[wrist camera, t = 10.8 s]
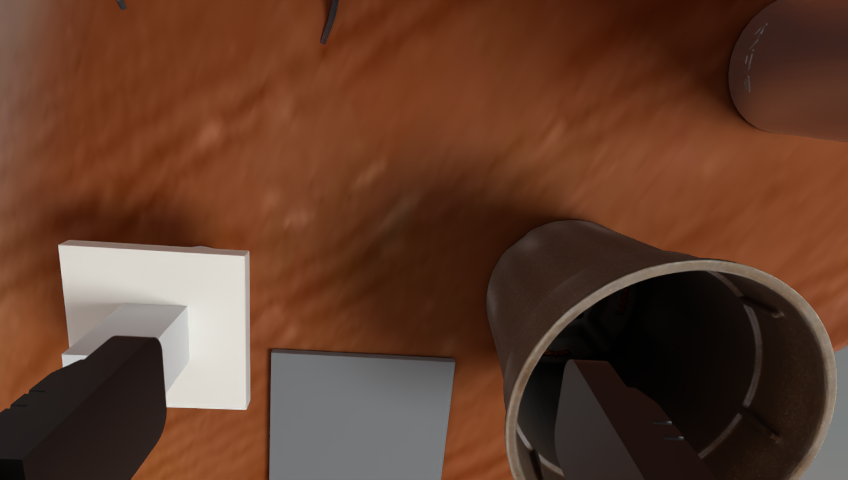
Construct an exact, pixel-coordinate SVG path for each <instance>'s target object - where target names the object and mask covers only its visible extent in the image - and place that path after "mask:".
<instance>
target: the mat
mask: <svg viewBox="0 0 848 480" xmlns="http://www.w3.org/2000/svg"><path fill="white" fill-rule="evenodd" d="M454 370H455V359H454V358H435V357H417V356H398V355H379V354H361V353H342V352H323V351H304V350H286V349H273V350H272V352H271V407H270V469H269V480H441V474H442V466H443V458H444V450H445V442H446V434H447V426H448V418H449V410H450V402H451V394H452V386H453V378H454Z"/></svg>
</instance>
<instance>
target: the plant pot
mask: <svg viewBox="0 0 848 480" xmlns="http://www.w3.org/2000/svg"><path fill="white" fill-rule="evenodd" d="M627 286H628V287H629V296H628V301H627V305H626V309H625V311H624V313H623V314H622V315H619V311H618V309H619V307H621V305H620V302H621V298H622V296H623V288H624V287H627ZM486 308H487V315H488V320H489V324H490V327H491V331H492V335H493V338H494V342H495V346H496V350H497V354H498V358H499V362H500V366H501V370H502V374H503V378H504V388H503V390H504V403H505V409H506V416H505V445H506V451H507V457H508V461H509V465H510V469H511V473H512V476H513V478H514V480H565V477H564V475H563V472H562V470H561V467H560V464H559V462H558V459H557V455H556V449H555V424H556V418H557V412H558V405H559V399H560V393H561V387H562V380H563V374H564V369H565V365H566V363H567V362H568V360H570V359H571V360H591V361H607V362H609V363H610V364H611V366H612V367H613V369H614V370H615V371H616V373H617V374H618V375H619V377H620V378H621V380H622V381H623V382H624V384H625V385H626V387H631V388H636V389H638V390H639V391H641V392H642V393H643V394H645V395H646V396H648V397H649V398H651V399H652V400H653V401H655V402H656V403H658V405H659V406H660V407H661V408H662V410H663V411H664V412H665V414H666V415H667V416H668V417H669V419H670V420H671V421H672V425H675V426H676V428H677V429H678V430H679V431H680V433H681V434H682V435H683V437H684V441H687V442H688V443H689V444H690V445H691V447H692V448H693V449H694V451H695V452H696V453H697V454H698V456H699V457H700V458H701V459H702V461H703V462H704V463H705V465H706V466H707V467H708V468H709V470H710V471H711V472H712V474H713V475H714V476H715V477H716V479H717V480H799V479H800V478H801V476H802V475H803V474H804V473H805V471H806V470H807V468H808V467H809V466H810V464H811V463H812V461H813V460H814V458H815V456H816V455H817V453H818V452H819V449H820V448H821V445H822V443H823V441H824V439H825V437H826V434H827V431H828V428H829V426H830V423H831V419H832V415H833V411H834V406H835V400H836V392H837V372H836V364H835V357H834V352H833V349H832V345H831V342H830V339H829V336H828V334H827V331H826V329H825V327H824V325H823V323H822V322H821V320H820V318H819V317H818V315H817V313H816V312H815V311H814V310H813V309H812V307H811V306H810V305H809V304H808V302H807V301H806V300H805V299H804V298H803V297H802V296H801V295H799V294H798V293H797V292H796V291H795V290H793V289H792V288H791V287H789V286H788V285H787V284H785V283H784V282H782V281H781V280H779V279H777V278H776V277H774V276H772V275H770V274H768V273H765V272H763V271H761V270H758V269H756V268H753V267H750V266H746V265H743V264H740V263H736V262H732V261H727V260H721V259H710V258H697V257H694V256H691V255H688V254H683V253H678V252H672V251H663V250H661V249H658V248H656V247H653V246H650V245H648V244H645V243H642V242H640V241H637V240H635V239H632V238H630V237H627V236H625V235H622V234H620V233H617V232H615V231H612V230H610V229H608V228H606V227H604V226H602V225H599V224H596V223H592V222H587V221H580V220H564V221H556V222H551V223H548V224H545V225H542V226H539V227H537V228H535V229H533V230H531V231H529V232H528V233H527V234H526V235H525V236H524V237H523V238H522V239H520V240H519V241H518V242H516V243H515V244H514V245H512V246H511V247H510V248H508V249H507V250H506V251H505V252H504V253H503V255H502V256H501V258H500V259H499V261H498V262H497V264H496V266H495V268H494V270H493V272H492V275H491V278H490V281H489V285H488V290H487V299H486ZM582 312H583V316H582V317H581V318H580V319H576V317H577V316H578V315H580V314H581V313H582ZM545 350H552V351H554V352H555V351H560V350H569V351H570V355H568V356H562V357H553V356H544V355H542V354H543V353H544V352H545Z"/></svg>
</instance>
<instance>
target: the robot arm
mask: <svg viewBox="0 0 848 480" xmlns="http://www.w3.org/2000/svg"><path fill="white" fill-rule="evenodd" d="M728 77H729V90H730V93H731V97H732V101H733V103H734V105H735V107H736V108H737V110H738V112H739V113H740V114H741V115H742V117H743V118H744V119H745V120H746V121H747V122H748V123H750V124H752V125H753V126H755V127H756V128H758V129H761V130H764V131H767V132H772V133H780V134H788V135H795V136H803V137H810V138H817V139H825V140H833V141H841V142H848V0H777V1H775V2H773V3H772V4H770V5H768V6H766V7H765V8H764V9H763V10H761V11H760V12H759V13H758V14H757V15H756V16H755V17H753V19H752V20H751V21H750V22H749V24H748V25H747V26H746V27H745V29H744V30H743V31H742V33H741V35H740V37H739V39H738V40H737V42H736V44H735V47H734V50H733V53H732V56H731V59H730V66H729V72H728ZM166 412H167V406H166V392H165V379H164V366H163V352H162V346H161V343H160V341H159V339H157V338H156V337H141V336H121V335H115V336H112V337H111V338H109V339H108V340H107V341H106V342H104V343H103V344H102V345H101V346H100V347H98V348H97V349H96V350H95V351H94V352H92V353H91V354H90V355H89V356H87V357H86V358H85V359H80V360H78V361H76V362H74V363H72V364H69V365H67V366H65V367H63V368H61V369H59V370H57V371H54V372H52V373H50V374H49V375H48V376H47V377H45V378H44V379H43V380H42V381H40V382H39V383H38V384H36V385H35V386H34V387H33V388H31V389H30V390H29V393H28V394H24V395H22V396H21V397H20V398H19V399H17V400H16V401H15V402H14V403H12V404H11V407H10V409H5V410H3V411H2V412H1V413H0V480H131V478H132V477H133V476H134V474H135V473H136V471H137V470H138V469H139V467H140V466H141V464H142V463H143V462H144V460H145V459H146V458H147V456H148V455H149V453H150V452H151V451H152V449H153V448H154V446H155V445H156V444H157V442H158V441H159V439H160V437H161V434H162V432H163V429H164V425H165V420H166ZM555 449H556V455H557V459H558V462H559V464H560V467H561V470H562V472H563V475H564V477H565V480H717V479H716V477H715V476H714V475H713V474H712V472H711V471H710V470H709V468H708V467H707V466H706V465H705V463H704V462H703V461H702V459H701V458H700V457H699V456H698V454H697V453H696V452H695V451H694V449H693V448H692V447H691V445H690V444H689V443H688V442H687V441H684V437H683V435H682V434H681V433H680V431H679V430H678V429H677V428H676V426H675V425H672V421H671V420H670V419H669V417H668V416H667V415H666V414H665V412H664V411H663V410H662V408H661V407H660V406H659V405H658V403H656V402H655V401H653V400H652V399H651V398H649V397H648V396H646V395H645V394H643V393H642V392H641V391H639V390H638V389H636V388H631V387H626V385H625V384H624V382H623V381H622V380H621V378H620V377H619V375H618V374H617V373H616V371H615V370H614V369H613V367H612V366H611V364H610V363H609V362H607V361H591V360H571V359H570V360H568V362H567V363H566V365H565V369H564V374H563V380H562V387H561V393H560V399H559V405H558V412H557V418H556V424H555Z"/></svg>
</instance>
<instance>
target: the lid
mask: <svg viewBox="0 0 848 480" xmlns="http://www.w3.org/2000/svg"><path fill="white" fill-rule="evenodd" d="M58 248H59V257H60V266H61V275H62V284H63V293H64V302H65V311H66V320H67V329H68V338H69V347H70V348H69V349H68V350H67V351H65V352H64V353H63V354H62V361H63V367H65V366H67V365H69V364H72V363H74V362H76V361H78V360H80V359H85V358H86V357H87V356H89V355H90V354H91V353H92V352H94V351H95V350H96V349H97V348H98V347H100V346H101V345H102V344H103V343H104V342H106V341H107V340H108V339H109V338H111V337H112V336H115V335H121V336H141V337H156V338H157V339H159V341H160V343H161V346H162V352H163V366H164V379H165V392H166V406H167V407H182V408H210V409H238V410H246V409H247V407H248V404H249V402H250V286H249V251H243V250H227V249H211V248H194V247H178V246H162V245H145V244H129V243H113V242H96V241H80V240H67V241H65V242H63V243H61V244H59V245H58Z"/></svg>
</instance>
